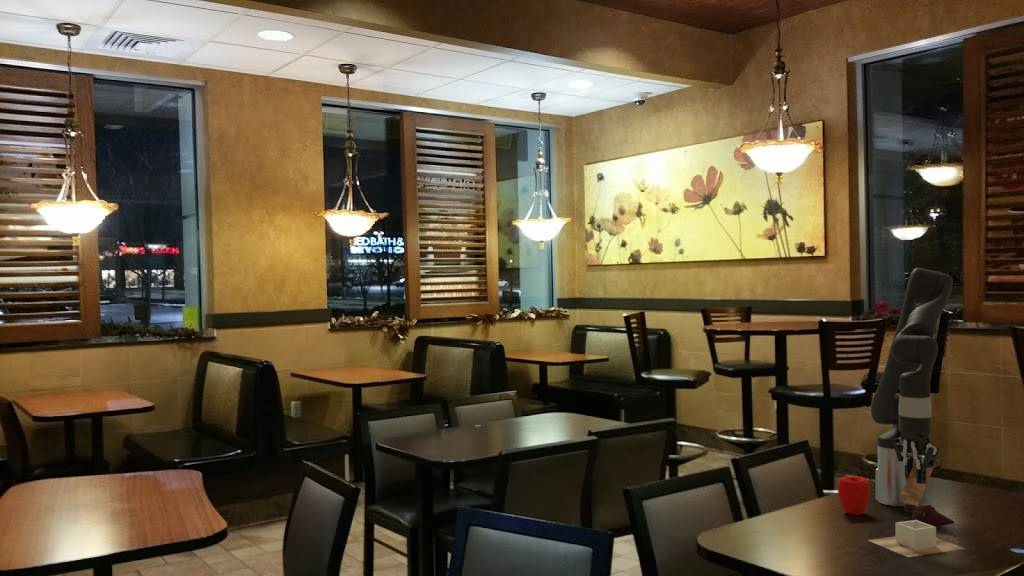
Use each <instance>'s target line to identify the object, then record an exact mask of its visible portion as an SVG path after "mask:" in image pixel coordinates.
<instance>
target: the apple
mask: <svg viewBox="0 0 1024 576" xmlns="http://www.w3.org/2000/svg"><path fill="white" fill-rule="evenodd" d="M837 483H838V484H837V492H838V497H839V502H840V504H841V506H842V508H843V510H844V511H845V513H847V514H849V515H850V514H851V516H861V515H863V514H864V513H865V512H866V510H867V507H868V504H869V502H870V501H869V500H870V494H871V485H870V482H869V480H868V479H867V478H865V477H863V476H854V475H853V476H849V475H848V476H841V477H840V478H839V479H838V482H837Z"/></svg>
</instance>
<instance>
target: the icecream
mask: <svg viewBox="0 0 1024 576" xmlns="http://www.w3.org/2000/svg"><path fill="white" fill-rule="evenodd" d="M903 509H904V511H906V512H908V513H910V514H912V515H911V516H905V517H903V519H902V522H904V521H912V520H918V521H920V522H923V523H926V524H929V525H931V526H934V527H936V528H937V527H942V526H946V525H952V524H955V522H954V520H952V519H950V518H949V517H947V516H945V515H943V514H942V513H940V512H939V511H937V510H936V508H935V507H934V506H932V505H931V504H926V505H922V504H921V505H918V506H916V505H913V504H905V505H904V506H903Z"/></svg>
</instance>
